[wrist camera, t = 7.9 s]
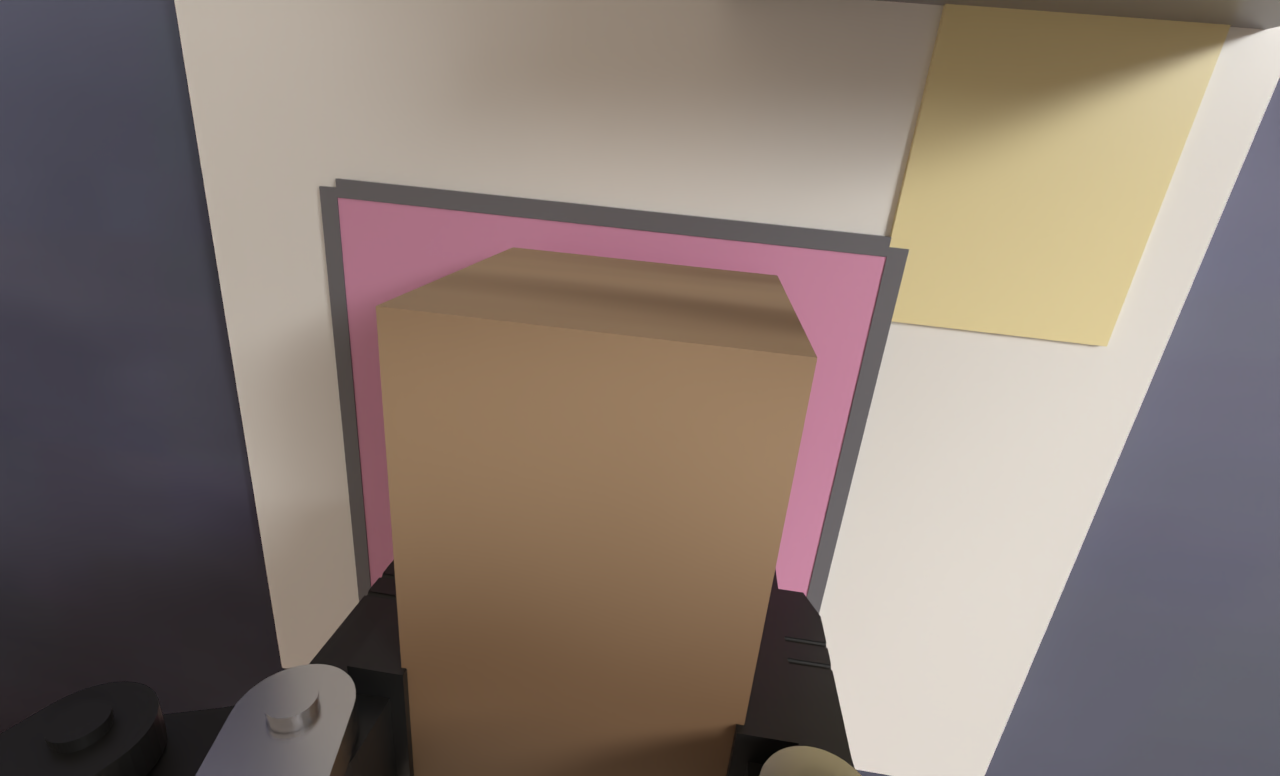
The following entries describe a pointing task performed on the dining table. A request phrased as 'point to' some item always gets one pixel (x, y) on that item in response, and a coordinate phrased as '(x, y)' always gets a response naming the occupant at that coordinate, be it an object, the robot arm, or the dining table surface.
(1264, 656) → the dining table surface
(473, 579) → the wooden block
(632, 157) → the colouring board
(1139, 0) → the button housing
